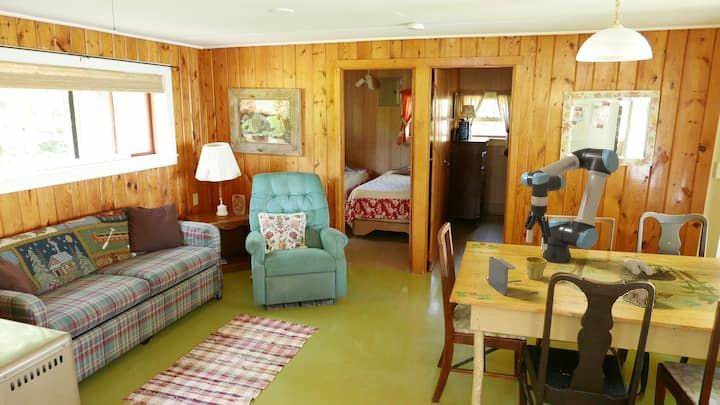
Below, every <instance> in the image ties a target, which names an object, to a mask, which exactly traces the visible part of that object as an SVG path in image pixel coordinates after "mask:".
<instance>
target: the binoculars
mask: <svg viewBox="0 0 720 405" xmlns="http://www.w3.org/2000/svg"><path fill="white" fill-rule="evenodd" d="M623 263H624V266H625V268H627V269H628V270H629V271H630V272H631V273H632V274H633V275H639V274H641V272H645V274H646V275H648V276H652V275H653V274H654V273H655V270H654V268H652V267H650V265H648V263H646V262H645V261H644V260H641V259H636V258H633V259H632V258H631V259H627V258H626V259H624V260H623Z"/></svg>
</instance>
